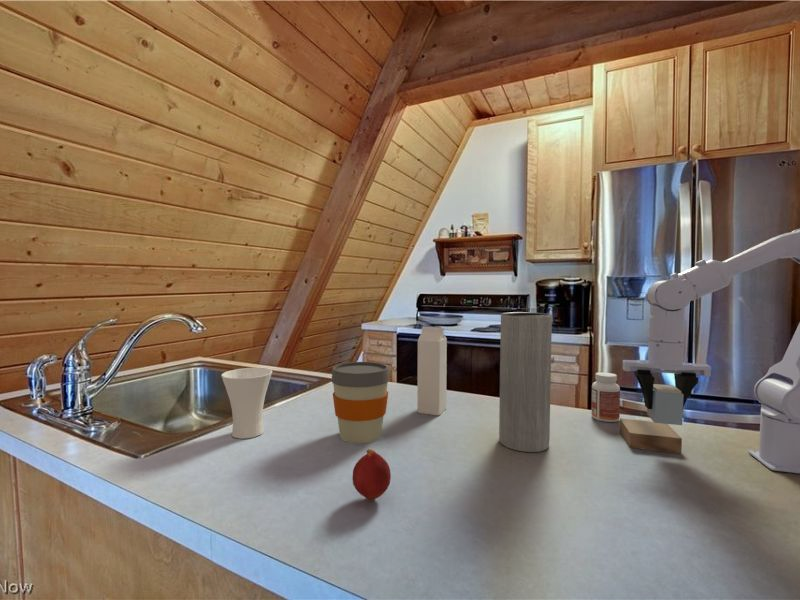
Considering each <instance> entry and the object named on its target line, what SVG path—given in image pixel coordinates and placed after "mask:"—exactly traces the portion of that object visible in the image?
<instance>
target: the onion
mask: <svg viewBox="0 0 800 600" xmlns="http://www.w3.org/2000/svg"><path fill="white" fill-rule="evenodd" d="M391 476H392V475H391V469H390V466H389V463H388V462H387V460H386V459H385V458H383V456H381V454H379V453H377V452H376V451H375V450H374V449H373V448H368V449H367V450H366V454H365V455H363V456H361V457H360V459H358V460H357V462H356V463H355V465H354V467H353V469H352V479H351V480H352V485H353V487H354V488H355V490H356V492H357V493H358V494H359V495H361V496H363V498H365V499H366V500H368V501H370V502H371V501H372V502H373V501H375V500H377V499H378V498H380V497H382V495H383V494H385V492H386V491H387V490H388V488H389V486H390V483H391Z"/></svg>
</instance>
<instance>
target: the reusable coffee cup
mask: <svg viewBox="0 0 800 600" xmlns="http://www.w3.org/2000/svg"><path fill="white" fill-rule="evenodd" d="M331 372H332V373H331V384H332V385H333V393H332V398H333V399H332V400H333V407H334V408H333V409H334V414H335V417H337V422H338V423H337V424H338V430H339V431H338V432H339V436H340V439H341V440H342V441H344V442H346V443H350V444H368V443H373V442H375V441H377V440H379V439H380V438H381V437H382V431H383V424H384V416H385V415H386V414H387V406H388V399H389V398H388V397H389V391H388V383H389V382H390V374H389V366H388V365H387V364H385V363H381V362H374V361H352V362H351V361H350V362H344V363H343V362H342V363H339V364H335V365H334V366H332V371H331Z"/></svg>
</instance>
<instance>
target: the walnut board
mask: <svg viewBox="0 0 800 600" xmlns="http://www.w3.org/2000/svg"><path fill="white" fill-rule="evenodd" d="M619 433H620V434H621V436H622V438H623V439H624V441H625V442H626V444H627V446H628V447H629V448H632V449H640V450H648V451H658V452H666V453H674V454H682V444H683V443H682V442H683V438H682V437H681V436H680V435H679V434H678V433H677V432H676V431H675V430H674V428H672V427H671V426H670V424H663V423H654V422H653V420H651V421H650V420H641V419H629V418H620V417H619Z"/></svg>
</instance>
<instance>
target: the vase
mask: <svg viewBox="0 0 800 600" xmlns="http://www.w3.org/2000/svg"><path fill="white" fill-rule="evenodd" d="M500 314H501V315H500V344H499V345H500V349H499V350H500V357H499V362H500V363H499V413H498V414H499V415H498V416H499V417H498V418H499V427H498V435H499V437H498V438H499V439H498V440H499V442H500V444H502V445H503V446H504V447H506V448H508V449H510V450H514V451H517V452H523V453H540V452H543V451H546V450H547V449H549V448H550V436H551V435H550V431H551V429H550V427H551V385H552V383H551V382H552V381H551V380H552V378H551V377H552V375H551V373H552V333H553V332H552V330H553V329H552V326H553V320H552V319H553V317H552V314H550V313H542V312H527V311H525V312H523V311H516V312H515V311H513V312H509V311H508V312H503V313H500Z"/></svg>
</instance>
